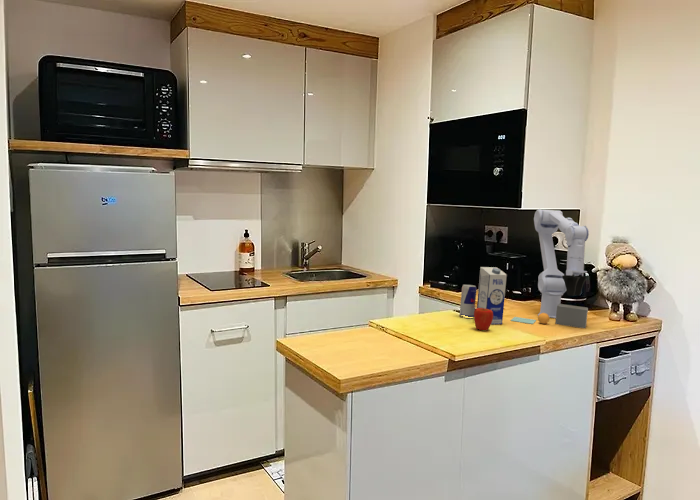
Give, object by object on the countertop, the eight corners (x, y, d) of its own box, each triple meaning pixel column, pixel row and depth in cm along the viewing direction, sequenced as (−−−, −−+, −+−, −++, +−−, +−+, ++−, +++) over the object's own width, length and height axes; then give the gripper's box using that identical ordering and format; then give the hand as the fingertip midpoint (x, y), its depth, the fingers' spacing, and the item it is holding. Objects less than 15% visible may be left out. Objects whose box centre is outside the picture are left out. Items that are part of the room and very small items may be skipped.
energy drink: (474, 319, 193) (477, 287, 192) (459, 317, 194) (462, 286, 193) (473, 316, 199) (476, 285, 198) (459, 314, 200) (462, 284, 199)
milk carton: (491, 320, 194) (496, 266, 192) (502, 324, 188) (507, 269, 186) (475, 320, 192) (480, 266, 190) (485, 324, 185) (490, 268, 184)
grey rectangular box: (557, 321, 199) (558, 303, 199) (586, 325, 195) (588, 307, 194) (555, 323, 194) (557, 305, 194) (585, 328, 189) (587, 310, 189)
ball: (538, 321, 196) (539, 311, 196) (549, 323, 194) (550, 313, 194) (536, 323, 192) (537, 313, 192) (548, 325, 191) (549, 314, 190)
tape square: (514, 317, 202) (514, 316, 202) (536, 320, 198) (536, 320, 198) (510, 320, 195) (510, 320, 195) (532, 324, 191) (533, 323, 191)
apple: (493, 329, 178) (495, 308, 178) (490, 333, 173) (492, 310, 172) (474, 326, 181) (476, 305, 180) (471, 330, 175) (472, 308, 175)
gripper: (581, 258, 183) (579, 296, 183) (592, 259, 194) (590, 296, 194) (560, 257, 187) (559, 295, 187) (572, 258, 199) (571, 294, 198)
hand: (573, 295), depth 191 cm, fingers open, 7 cm apart
